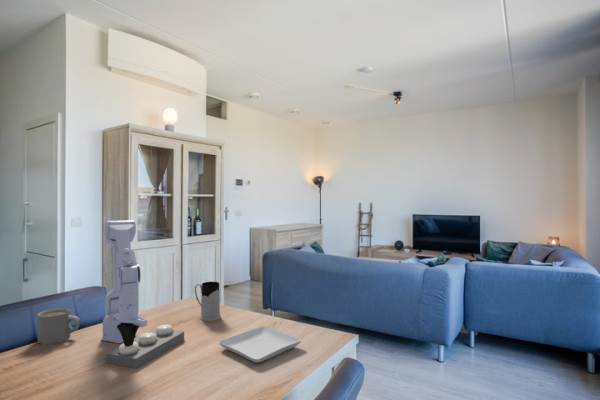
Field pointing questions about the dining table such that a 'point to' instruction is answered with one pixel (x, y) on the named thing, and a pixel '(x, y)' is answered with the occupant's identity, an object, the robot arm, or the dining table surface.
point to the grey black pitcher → (209, 301)
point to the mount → (144, 350)
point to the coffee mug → (55, 325)
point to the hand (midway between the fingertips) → (128, 345)
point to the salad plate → (260, 343)
